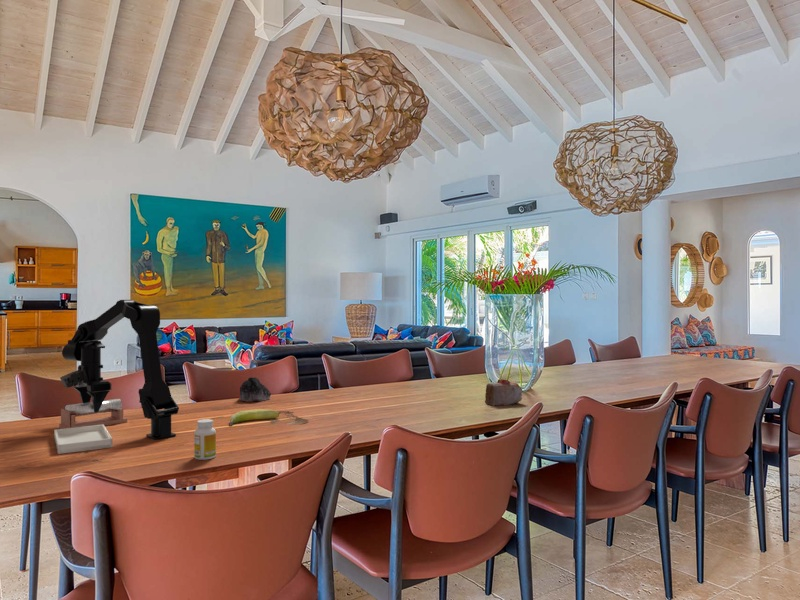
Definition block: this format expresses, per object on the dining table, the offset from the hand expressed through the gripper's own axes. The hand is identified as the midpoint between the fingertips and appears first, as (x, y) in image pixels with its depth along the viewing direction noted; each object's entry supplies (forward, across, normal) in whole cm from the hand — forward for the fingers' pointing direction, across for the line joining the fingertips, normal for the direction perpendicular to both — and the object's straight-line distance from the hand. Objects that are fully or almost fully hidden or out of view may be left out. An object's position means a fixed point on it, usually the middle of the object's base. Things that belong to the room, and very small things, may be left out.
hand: (90, 410), depth 191 cm
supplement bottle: (+5, +60, +8) cm, 61 cm away
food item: (+5, +74, +128) cm, 147 cm away
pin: (+1, 0, +1) cm, 2 cm away
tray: (+5, +21, -10) cm, 23 cm away
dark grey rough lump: (+5, -4, +64) cm, 64 cm away
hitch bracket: (+5, 0, +1) cm, 5 cm away
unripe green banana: (+6, +31, +40) cm, 51 cm away
